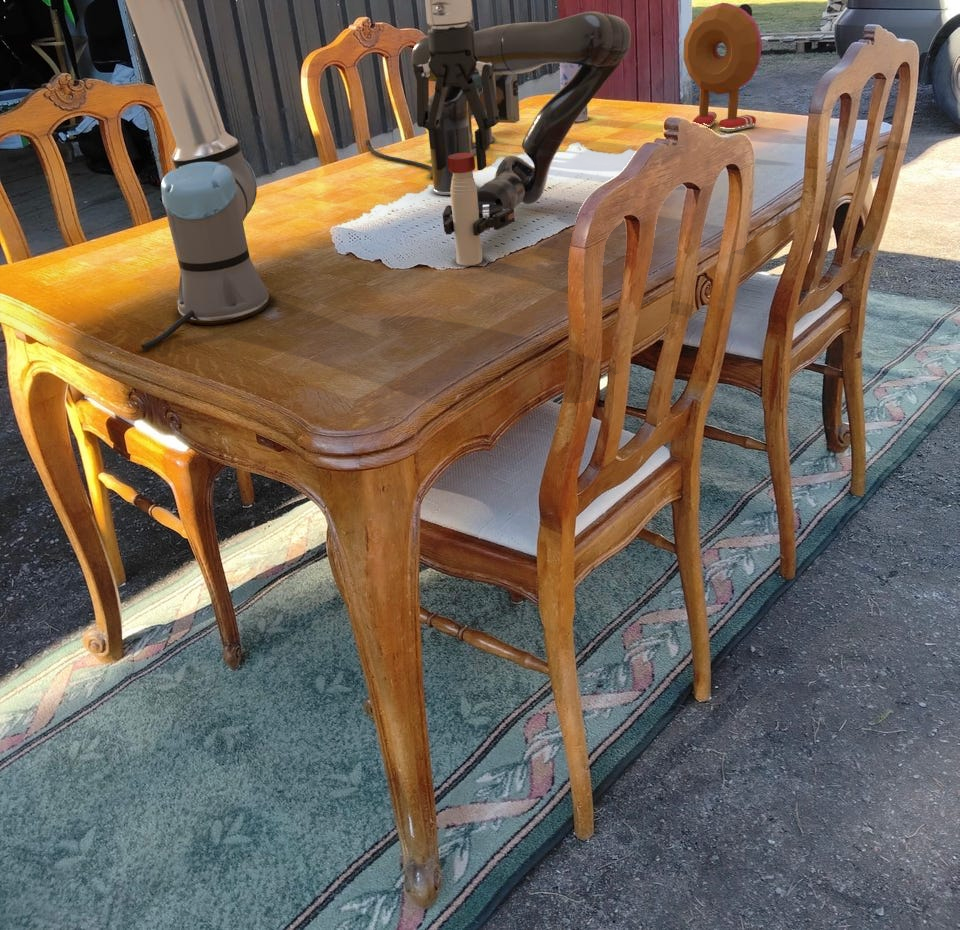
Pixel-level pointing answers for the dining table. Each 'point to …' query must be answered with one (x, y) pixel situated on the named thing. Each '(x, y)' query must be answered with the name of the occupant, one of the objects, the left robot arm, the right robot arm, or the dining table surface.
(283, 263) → the dining table surface
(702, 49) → the toy
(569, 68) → the aerosol can
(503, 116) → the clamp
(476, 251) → the bottle
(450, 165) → the cap
